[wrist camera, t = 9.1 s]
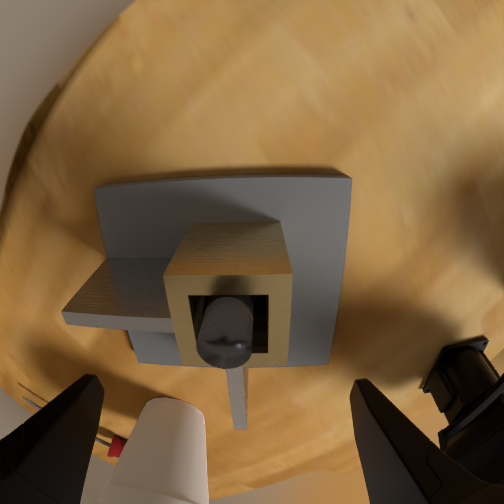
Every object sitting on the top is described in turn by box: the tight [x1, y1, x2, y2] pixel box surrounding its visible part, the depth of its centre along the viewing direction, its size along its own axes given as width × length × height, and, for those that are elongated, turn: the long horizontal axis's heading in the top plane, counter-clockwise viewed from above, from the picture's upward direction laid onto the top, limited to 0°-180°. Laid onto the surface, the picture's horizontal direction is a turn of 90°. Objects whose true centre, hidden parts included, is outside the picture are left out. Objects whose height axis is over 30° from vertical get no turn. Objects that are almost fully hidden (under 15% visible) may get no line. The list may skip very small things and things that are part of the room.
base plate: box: [94, 174, 352, 368], centre depth 19 cm, size 15×14×1 cm
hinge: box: [61, 221, 293, 430], centre depth 16 cm, size 11×11×6 cm
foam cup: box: [98, 397, 209, 504], centre depth 21 cm, size 10×9×13 cm
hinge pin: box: [196, 295, 254, 369], centre depth 14 cm, size 2×2×8 cm
